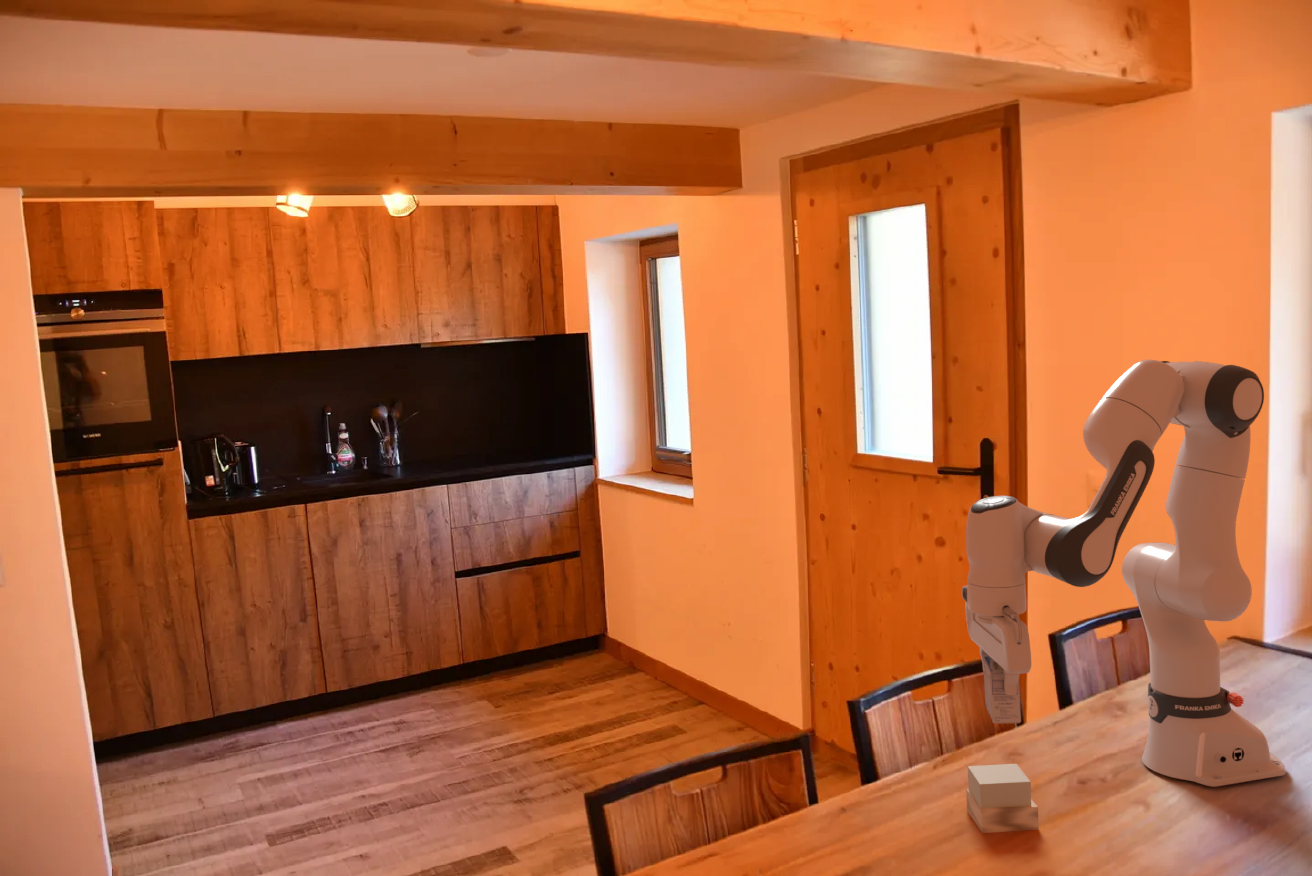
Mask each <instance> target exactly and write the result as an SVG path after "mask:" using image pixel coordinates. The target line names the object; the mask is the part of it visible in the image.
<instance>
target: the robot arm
mask: <svg viewBox="0 0 1312 876" xmlns="http://www.w3.org/2000/svg"><path fill="white" fill-rule="evenodd" d="M1264 400H1265V392H1264V387H1263V384H1262V382H1261V380H1260V378H1259V376H1258V375H1257V373H1255V372H1254V371H1252V370H1250V369H1248V368H1246V367H1243V366H1240V365H1235V364H1227V365H1226V364H1223V363H1222V364H1221V363H1217V362H1209V361H1198V360H1195V361H1173V362H1171V361H1169V360H1157V359H1143V360H1140V361H1137V362H1136V363H1134V364H1133V365H1132V366H1130V367H1129V368H1128V369H1127V370H1126V371H1125V372H1124V373H1123V374H1122V375H1121V376H1119V377H1118V378H1117V380H1115V381H1114V383H1113V384H1111V386H1110V387H1109V388H1108V390H1106V392H1105V393H1104V395H1103V396H1102V397H1101V398H1100V400H1099V401H1098V402H1097V404H1096V405H1095V406H1094V408H1093V409H1092V411H1091V412H1090V413H1089V415H1088V416H1087V419H1086V421H1085V422H1084V423H1085V424H1084V426H1083V429H1082V436H1083V438H1082V439H1083V442H1084V444H1085V447H1086V449H1087V451H1088V452H1089V454H1090V455H1091V456H1092V457H1093V458H1094V459H1095V460H1096V462H1098V463H1099V464H1100V465H1101V466H1102V467H1103V468H1105V470H1106V473H1105V477H1104V478H1103V481H1102V482H1101V485H1100V486H1099V489H1098V490H1097V492H1096V493H1095V496H1094V497H1093V500H1092V501H1091V503H1090V505H1089V506H1088V508H1087V510H1086V512H1084V513H1083V514H1082V515H1080V516H1077V517H1072V518H1070V517H1064V516H1060V515H1056V514H1052V513H1048V512H1043V511H1040V510H1036V509H1034V508H1032V507H1029V506H1026V505H1025V504H1023V503H1021V502H1019V500H1018V499H1017V498H1016V497H1014V496H1010V495H1009V496H1008V495H996V496H989V497H985V498H981V499H979V500H978V501H975V503H974V502H973V504H972V505H971V506H970V508H969V510H968V514H967V519H966V525H965V526H966V527H965V528H966V529H965V552H966V557H967V561H968V564H969V565H968V567H969V569H968V574H967V578H966V579H967V581H966V582H967V584H966V585H963V586H962V587H961V597H962V600H964V601H965V603H964V604H965V616H966V617H965V619H966V626H967V627H966V629H967V632H968V635H969V638H970V640H971V641H972V642H974V643H975V644H976V645H977V646H978V647H979V648H978V650H979V654H980V655H979V656H980V658H981V663H983V658H984V657H986V656H990V657H991V658H992V659H993V660H994V661H995V662H996V663H997V664H999V665H1000V666H1001V667H1002V668H1003V672H1004V674H1005V678H1004V681H1002V685H1003V691H1004V692H1005V693H1006V694H1007V695H1015V694H1017V683H1018V680H1019V681H1020V676H1021V674H1028V673H1030V671H1031V669H1032V652H1031V643H1030V642H1031V641H1030V632H1029V629H1028V626H1027V625H1026V623H1025V622H1024V621H1022V619H1020V615H1021V614H1024V613H1025V612H1026V611H1027V590H1026V589H1027V586H1026V573H1028V572H1035V573H1038V574H1041V575H1045V576H1047V577H1051V578H1055V579H1056V580H1059V581H1061V582H1064V583H1066V584H1068V585H1070V586H1072V587H1077V588H1085V587H1089V586H1092V585H1094V584H1096V583H1098V582H1099V581H1101V579H1103V578H1104V577H1105V576H1106V575H1107V574H1108V572H1109V571H1110V569H1111V567H1112V564H1113V563H1114V559H1115V556H1116V552H1117V549H1118V545H1119V543H1120V540H1121V538H1122V535H1123V533H1124V531H1125V530H1126V527H1127V526H1128V523H1129V521H1130V519H1131V517H1132V516H1133V514H1134V512H1135V509H1136V508H1137V505H1138V504H1139V502H1140V500H1141V498H1142V496H1143V495H1144V492H1145V491H1146V488H1147V486H1148V484H1149V481H1150V480H1151V477H1152V475H1153V472H1154V468H1155V462H1156V461H1155V454H1154V452H1153V451H1154V449H1155V447H1156V445H1157V443H1158V442H1159V440H1160V438H1161V437H1162V436H1163V434H1164V433H1165V431H1166V430H1167V428H1168V426H1169V425H1170V424H1173V425H1178V426H1181V427H1183V429H1184V436H1183V438H1182V441H1181V444H1180V447H1179V450H1178V454H1177V457H1176V460H1175V463H1174V464H1175V465H1174V469H1173V471H1172V472H1173V473H1172V477H1171V481H1170V486H1169V488H1168V489H1169V490H1168V493H1167V497H1166V501H1165V511H1166V514H1167V515H1168V517H1169V518H1170V520H1171V522H1172V526H1173V528H1174V529H1173V530H1174V538H1175V545H1174V544H1172V543H1169V542H1144V543H1143V542H1142V543H1139V544H1136V545H1135V546H1133V547H1132V548H1130V549H1129V551H1128V552H1127V553H1126V555H1125V557H1124V558H1123V561H1122V565H1121V573H1122V574H1121V575H1122V578H1123V580H1124V582H1125V584H1126V586H1127V587H1128V588H1129V590H1130V592H1132V594H1133V596H1134V599H1135V600H1136V604H1137V606H1138V608H1139V612H1140V615H1141V619H1142V620H1143V621H1142V622H1143V625H1144V627H1145V633H1146V635H1147V636H1146V637H1147V642H1148V647H1149V669H1150V672H1149V674H1150V676H1149V677H1150V682H1149V683H1148V685H1147V708H1148V709H1147V710H1148V711H1147V712H1148V716H1149V725H1148V730H1147V731H1148V732H1147V739H1146V743H1145V747H1144V751H1143V754H1142V757H1141V761H1142V763H1143V765H1145V766H1146V767H1147V768H1148V769H1150V770H1152V771H1153V772H1155V773H1158V774H1160V775H1164V776H1165V777H1169V778H1174V779H1177V780H1185V781H1191V782H1195V783H1197V784H1201V785H1203V786H1207V787H1214V788H1215V787H1221V786H1222V787H1223V786H1227V785H1234V784H1239V783H1245V782H1251V781H1252V782H1253V781H1256V780H1258V781H1259V780H1263V779H1269V778H1275V777H1280V776H1284V775H1286V768H1285V765H1284V763H1283V761H1282V760H1281V759H1279V758H1278V757H1277V756H1276V755H1275V754H1273V753H1272V752H1270V748H1269V747H1270V746H1269V744H1268V740H1267V739H1266V735H1265V734H1264V732H1263V731H1262V730H1261V729H1259V728H1258V727H1257V726H1256V725H1255V724H1253V723H1252V722H1250V721H1249V719H1247V718H1245V717H1243V715H1241V714H1239V713H1238V711H1235V710H1234V709H1233V708H1232V707H1231V705H1233V706H1234V707H1236V708H1240V707H1242V706H1243V704H1244V702H1245V699H1244V698H1243V697H1242V696H1241V695H1240V694H1238V693H1236V692H1230V691H1229V690H1227V689H1226V688H1224V687H1221V650H1220V646H1219V643H1218V642H1217V639H1216V638H1215V637H1214V636H1213V634H1212V633H1211V632H1210V630H1209V628H1208V626H1207V624H1206V622H1205V621H1210V622H1222V623H1223V622H1230V621H1233V620H1236V619H1237V618H1239V617H1240V616H1242V615H1243V614H1244V613H1245V611H1247V609H1248V606H1249V605H1250V603H1251V599H1252V585H1251V581H1250V579H1249V576H1248V575H1247V574H1246V572H1245V571H1244V570H1245V569H1243V567H1242V564H1241V561H1240V559H1239V553H1238V549H1237V547H1238V546H1237V538H1236V537H1237V535H1236V532H1237V531H1236V526H1237V517H1238V512H1239V508H1240V507H1239V506H1240V502H1241V498H1242V495H1243V494H1242V493H1243V490H1244V489H1243V488H1244V484H1245V481H1246V478H1247V477H1246V476H1247V473H1248V472H1247V471H1248V467H1249V461H1250V453H1251V452H1250V450H1251V427H1250V426H1251V425H1252V424H1253V423H1254V422H1255V421H1256V419H1257V418H1258V417H1259V415H1260V413H1261V410H1262V408H1263V404H1264ZM982 671H983V673H984V666H983V665H982Z"/></svg>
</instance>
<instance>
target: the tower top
mask: <svg viewBox="0 0 1312 876" xmlns="http://www.w3.org/2000/svg"><path fill="white" fill-rule="evenodd" d="M967 781H968V785H967V786H968V789H969V791H970V792H971V794H972V796H973V797H974V799H975V800H976V802H977V803H978V805H979V806H980V808H998V807H1017V806H1031V799H1032V788H1031V787H1032V785H1031V784H1032V783H1031V780H1030V779H1029V778H1028V776H1027V775H1026V774H1025V773H1024V771H1023V770H1022V769H1021V768H1020V766H1019V765H1018V764H1017V763H1006V764H1005V763H1002V764H987V765H985V764H983V765H969V766H967Z"/></svg>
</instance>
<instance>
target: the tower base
mask: <svg viewBox="0 0 1312 876" xmlns="http://www.w3.org/2000/svg"><path fill="white" fill-rule="evenodd" d="M965 793H966V811H967V812H968V815H970V817H971V819H972V820H973V822H974V823H975V825H976V826H977V828H978V829H979V830H980V832H981V834H987V833H988V834H989V833H1003V832H1005V833H1006V832H1021V831H1037V830H1039V829H1040V828H1039V827H1040V826H1039V806H1038V805H1037V804H1036V803H1035V802H1034V800H1033V799H1032V798H1031V806H1017V807H998V808H980V806H979V805H978V803H977V802H976V800H975V799H974V797H973V796H972V794H971V792H970V791H969V788H966V790H965Z"/></svg>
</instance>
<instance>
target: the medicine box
mask: <svg viewBox="0 0 1312 876" xmlns="http://www.w3.org/2000/svg"><path fill="white" fill-rule="evenodd" d="M983 666H984V672H983V677H984V678H983V682H984V686H983V687H984V704H985V705H984V706H985V707H986V710H987V713H988V714H989V716H990V719H991V721H992V723H993V724H1020V723H1021V722H1022V715H1021V698H1020V697H1021V695H1020V694H1021V693H1020V692H1021V691H1020V679H1019V680H1018V683H1017V694H1015V695H1007V694H1006V693H1005V692H1004V691H1003V685H1002V681H1004V678H1005V674H1004V672H1003V668H1002V667H1001V666H1000V665H999V664H997V663H996V662H995V661H994V660H993V659H992V658H991V657H990V656H986V657H984V658H983V662H982V667H983Z"/></svg>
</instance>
